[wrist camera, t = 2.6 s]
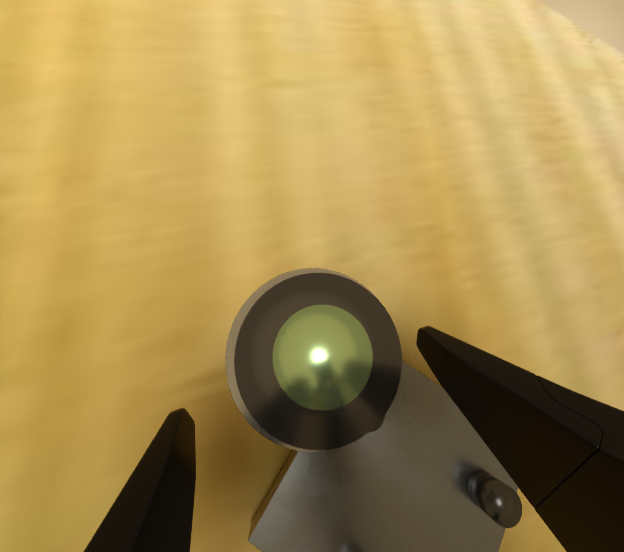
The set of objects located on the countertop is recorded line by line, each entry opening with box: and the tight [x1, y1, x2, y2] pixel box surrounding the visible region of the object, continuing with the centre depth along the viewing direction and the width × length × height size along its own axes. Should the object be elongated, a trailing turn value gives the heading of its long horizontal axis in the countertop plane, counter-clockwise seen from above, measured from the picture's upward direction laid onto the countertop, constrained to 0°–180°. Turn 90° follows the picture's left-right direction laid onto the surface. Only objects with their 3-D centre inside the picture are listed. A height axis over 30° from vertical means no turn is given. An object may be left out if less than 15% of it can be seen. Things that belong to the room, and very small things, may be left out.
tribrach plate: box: [248, 361, 522, 552], centre depth 15 cm, size 13×13×3 cm
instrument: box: [225, 268, 402, 452], centre depth 11 cm, size 4×4×13 cm
